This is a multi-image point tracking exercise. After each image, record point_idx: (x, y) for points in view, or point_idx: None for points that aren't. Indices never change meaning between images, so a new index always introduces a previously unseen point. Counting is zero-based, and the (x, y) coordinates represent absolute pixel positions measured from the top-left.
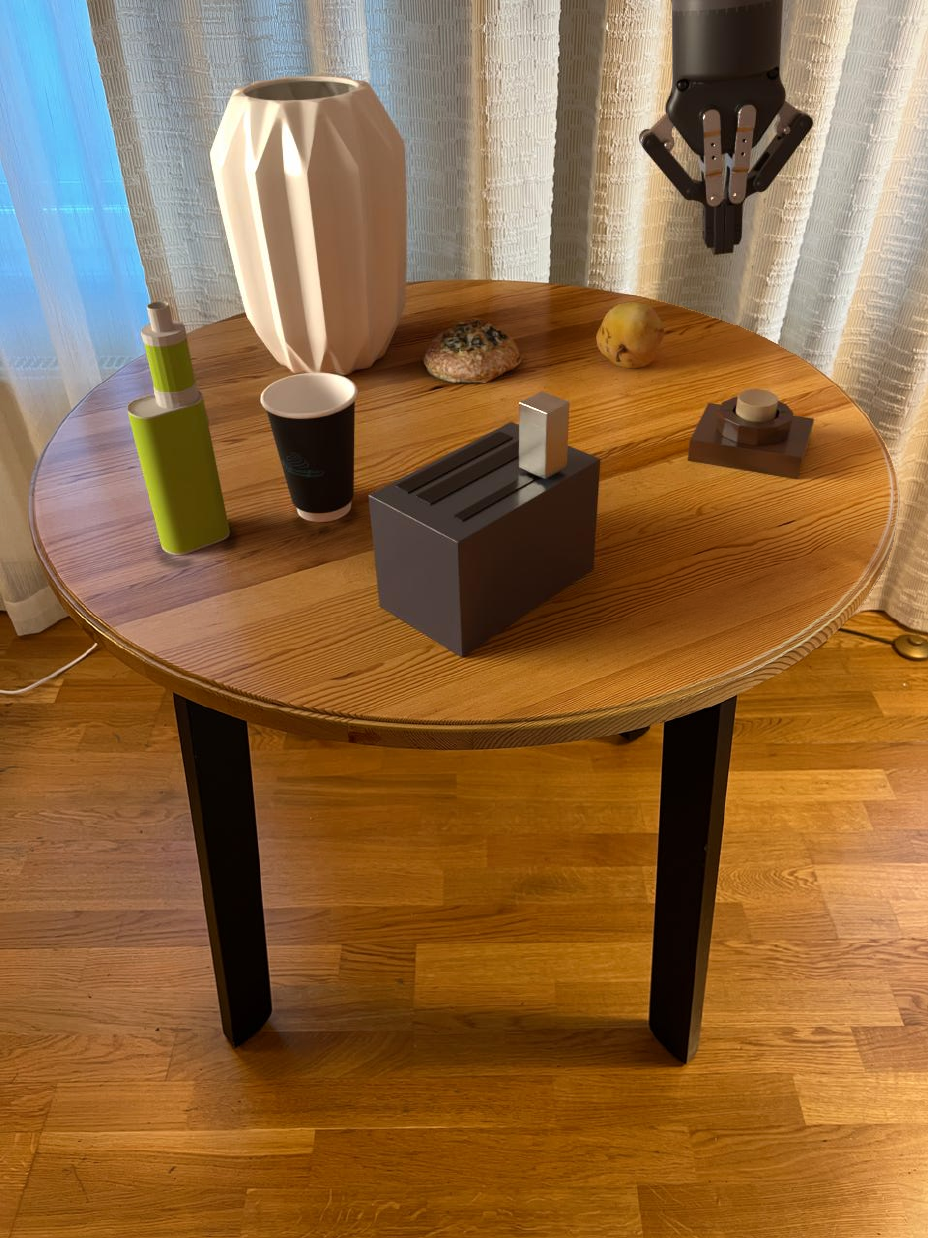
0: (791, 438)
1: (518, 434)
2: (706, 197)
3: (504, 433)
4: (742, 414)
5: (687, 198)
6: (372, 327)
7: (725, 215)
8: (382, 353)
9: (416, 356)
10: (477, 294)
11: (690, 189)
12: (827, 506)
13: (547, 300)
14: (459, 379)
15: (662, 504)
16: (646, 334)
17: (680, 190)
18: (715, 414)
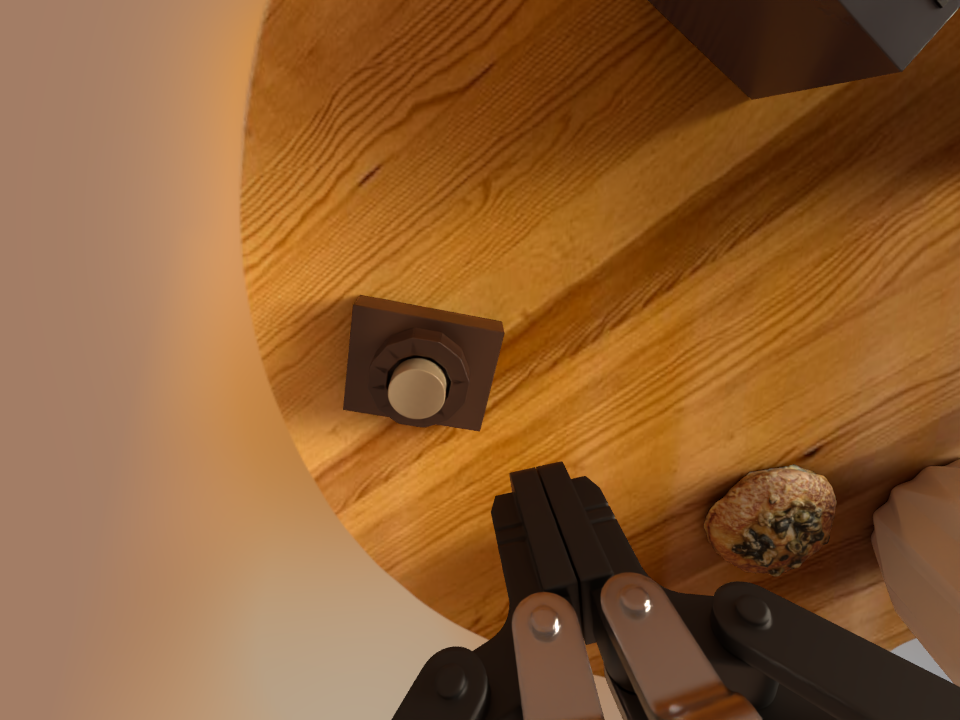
0: (369, 353)
1: (901, 4)
2: (668, 600)
3: (929, 5)
4: (436, 368)
5: (749, 585)
6: (951, 515)
7: (565, 553)
8: (879, 513)
9: None
10: None
11: (764, 618)
12: (318, 230)
13: None
14: (786, 469)
15: (535, 202)
16: None
17: (803, 612)
18: (470, 402)
